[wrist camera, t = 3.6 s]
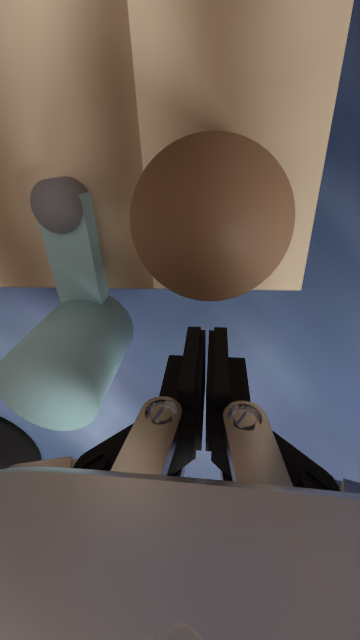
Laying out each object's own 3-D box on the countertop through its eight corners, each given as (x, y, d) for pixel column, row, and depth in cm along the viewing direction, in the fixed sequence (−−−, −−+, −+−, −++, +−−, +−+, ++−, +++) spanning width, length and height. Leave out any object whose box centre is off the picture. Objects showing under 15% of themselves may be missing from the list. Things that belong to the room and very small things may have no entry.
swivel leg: (17, 177, 12) (-97, 192, 8) (111, 174, 11) (45, 188, 7) (68, 355, 16) (14, 427, 12) (137, 357, 16) (107, 434, 12)
